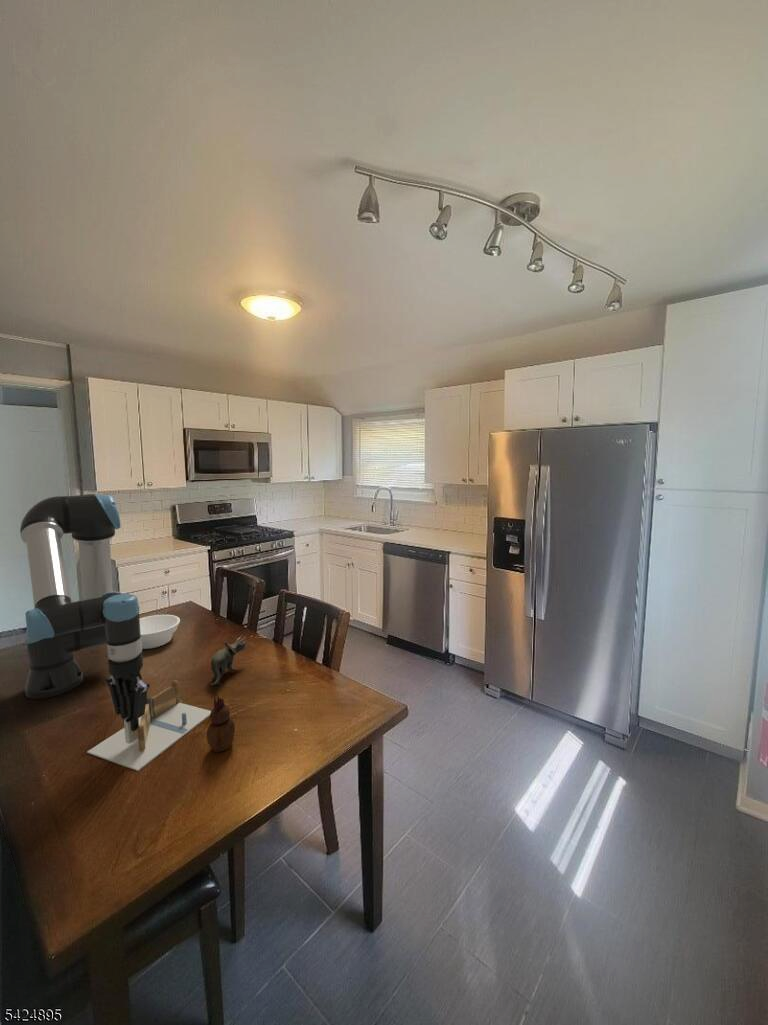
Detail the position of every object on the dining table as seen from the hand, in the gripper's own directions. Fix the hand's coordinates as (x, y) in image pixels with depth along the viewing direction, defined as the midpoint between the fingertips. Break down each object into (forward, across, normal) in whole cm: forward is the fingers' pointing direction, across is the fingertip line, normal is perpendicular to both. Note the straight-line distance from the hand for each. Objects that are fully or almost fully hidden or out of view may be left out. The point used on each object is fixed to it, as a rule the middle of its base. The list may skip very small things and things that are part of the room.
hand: (132, 740), depth 111 cm
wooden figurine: (+2, +22, +8) cm, 24 cm away
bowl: (+2, -49, +48) cm, 68 cm away
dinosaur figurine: (+2, -3, +36) cm, 36 cm away
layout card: (+2, 0, +6) cm, 7 cm away
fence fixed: (+2, -5, +14) cm, 15 cm away
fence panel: (+1, +1, +3) cm, 3 cm away
